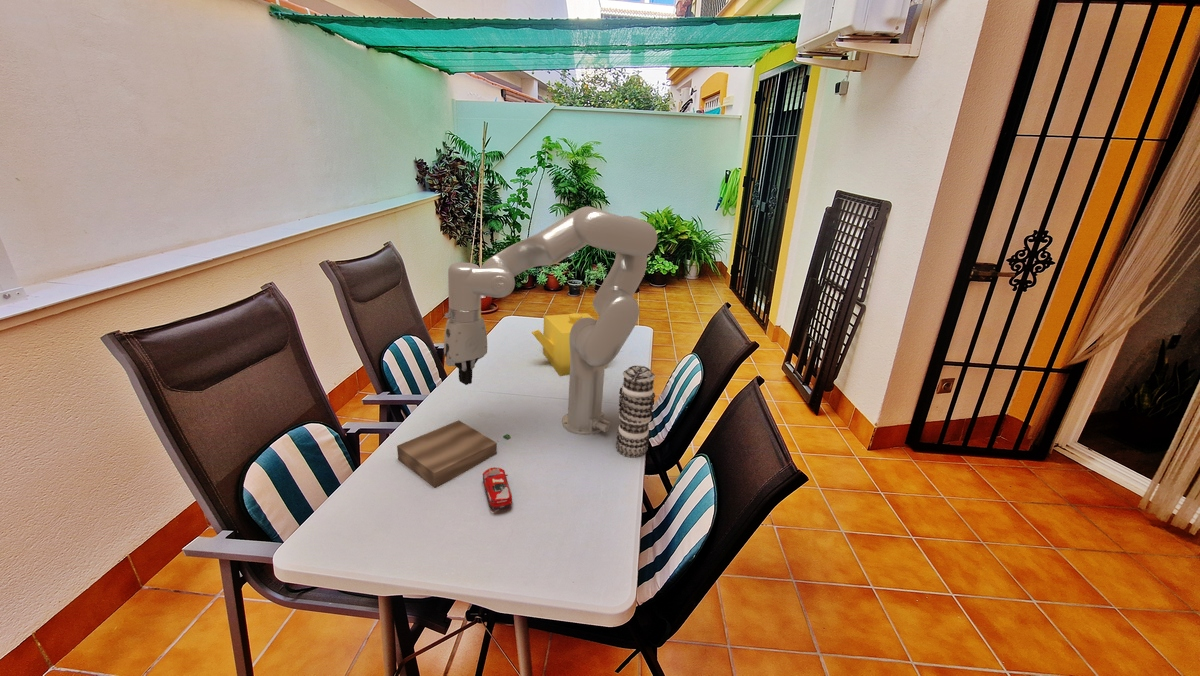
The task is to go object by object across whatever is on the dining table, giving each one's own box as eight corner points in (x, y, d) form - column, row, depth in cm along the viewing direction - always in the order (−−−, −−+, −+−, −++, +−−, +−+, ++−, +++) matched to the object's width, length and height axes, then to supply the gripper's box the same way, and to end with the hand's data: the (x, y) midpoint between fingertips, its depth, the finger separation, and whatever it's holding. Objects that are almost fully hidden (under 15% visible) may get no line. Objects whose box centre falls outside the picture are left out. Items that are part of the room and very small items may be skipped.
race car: (481, 476, 117) (480, 462, 116) (504, 472, 119) (504, 458, 117) (488, 513, 106) (488, 499, 104) (514, 509, 108) (513, 494, 106)
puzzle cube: (503, 439, 135) (503, 431, 134) (510, 443, 133) (510, 435, 132) (491, 445, 132) (491, 438, 131) (499, 449, 130) (499, 442, 129)
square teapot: (519, 356, 189) (520, 303, 182) (591, 349, 201) (594, 299, 194) (546, 396, 159) (548, 335, 152) (628, 385, 171) (634, 328, 164)
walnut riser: (496, 456, 126) (496, 442, 125) (435, 487, 113) (434, 473, 112) (459, 432, 136) (458, 420, 134) (398, 459, 122) (397, 445, 121)
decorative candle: (620, 467, 125) (628, 378, 117) (609, 447, 134) (616, 363, 125) (653, 463, 128) (663, 376, 119) (640, 444, 136) (649, 361, 128)
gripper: (446, 323, 112) (448, 396, 118) (499, 313, 123) (498, 379, 129) (428, 315, 116) (431, 385, 122) (481, 305, 127) (481, 370, 133)
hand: (465, 382), depth 126 cm, fingers closed
